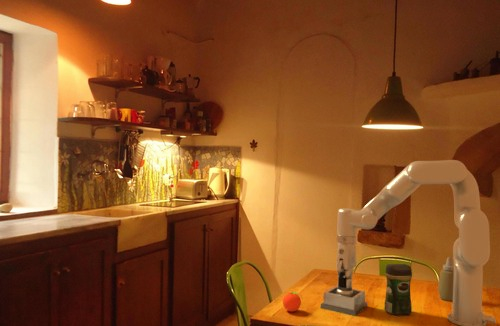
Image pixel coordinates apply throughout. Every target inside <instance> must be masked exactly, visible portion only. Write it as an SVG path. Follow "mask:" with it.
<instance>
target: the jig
mask: <svg viewBox="0 0 500 326" xmlns="http://www.w3.org/2000/svg"><path fill="white" fill-rule="evenodd" d="M337 286H338V285H334V286H332V287H331V288H329V289H328V290H325V291H324V292H323V300H322V301H323V302H322V303H320V309H322V310H323V309H324V310H328V311H333V312H336V313H340V314H345V315H351V316H355V317H356V316H357V315H359V314H360V313H361V312H362V311H364V309H366V308H367V307H368V302H367V301H365V300H366V299H365V298H366V291H365V290H361V289H355V288H352V290H353V297H348V296H343V295H338V294H336V291H337Z"/></svg>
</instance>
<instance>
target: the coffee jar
mask: <svg viewBox="0 0 500 326" xmlns="http://www.w3.org/2000/svg"><path fill="white" fill-rule="evenodd" d="M384 273H385V277H386V291H385V299H384V310H385V312H387V314H391V315H394V316H405V315H407V316H408V315H411V314H412V299H411V298H412V297H411V296H412V295H411V281H412V278H413V272H412V267H411V266H410V265H408V264H406V263H396V264H393V263H391V264H386V266H385V272H384Z"/></svg>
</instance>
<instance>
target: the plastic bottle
mask: <svg viewBox="0 0 500 326" xmlns="http://www.w3.org/2000/svg"><path fill="white" fill-rule="evenodd" d="M351 268H352V269H351V270H349V271H347V272H346V278H347V285H346V288H342V287H338V285H336V286H337V291H336V294H338V295H343V296H348V297H353V290H352V289H353V274H354V268H355V267H354V264H353V263H352V266H351ZM342 269H345V268H344V267H342ZM343 273H344V271H343Z"/></svg>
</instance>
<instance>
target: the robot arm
mask: <svg viewBox="0 0 500 326" xmlns="http://www.w3.org/2000/svg"><path fill="white" fill-rule="evenodd" d="M421 185H450V187H451V189H452V193H453V208H454V210H453V211H454V214H453V215H454V218H453V221H454V224H455V226H456V228H458V238H457V239H456V240H455V241H454V243H453V245H452V256H453V266H454V277H453V301H452V311H451V313H448V314H447V320H448V321H450V322H451V323H453V324H455V325H458V326H487V323H491V324H496V321H497V320H496V317H493V316H492V315H488V314H487V315H486V313H484V310H483V309H482V307H483V303H482V302H483V281H484V277H483V276H484V275H483V274H484V273H483V271H484V270H483V269H484V268H483V266H484V265H486V264H487V262H488V261H489V259H490V255H491V241H490V240H491V239H490V222H489V220H488V217H487V215H486V214H485V212H484V211H482V210H481V201H480V200H481V199H480V198H481V197H480V190H479V186H478V185H479V184H478V182H477V180H476V178H475V177H474V175H473V174H472V173H471V172H470V171H469V169H467V166H465V164H464V163H463V162H462V161H460V160H457V159H456V160H455V159H447V160H446V159H444V160H443V159H442V160H415V161H412V162H410V163H409V164H408V165H407V166H406V167H404V168H403V170H402V171H400V172H399V173H398V174H397V175H396V176H395V177H394V178H393V179H392V180H391V181H390V182H388V183H387V184H386V185H385V186H384V187H383V188H382V189H381V190H380V192H379V193H378V194H377V195H376V196H374V197H373V198H372V199H370V201H369V202H368V203H367V204H366V205H364V207H362V208H360V209H359V210H356V209H354V208H347V207H345V208H343V207H342V208H339V209H338V210H337V219H336V220H337V222H336V223H337V225H336V226H337V227H336V228H337V229H336V244H337V251H336V271H337V286H338V287H342V288H346V285H347V278H346V272H347V271H349V270H351V269H352V268H351V266H352V263H353V264H354V268H356V267H357V249H356V248H357V247H356V245H357V230H358V229H362V230H371V229H374V228H375V227H376V226H377V223H378V220H380V219H381V218H382V217H383V216H384V215H386V213H387V212H389V211H390V210H391V209H392V208H394V207H396V206H398V205H400V204H401V203H403V202H404V201H405V200H406V199H407V198H408V197H410V196H411V195H412V193H414V192H415V191H416V190H417V189H418V188H419V187H420V186H421ZM357 228H358V229H357ZM342 267H344V268H345V269H342ZM343 271H344V273H343Z"/></svg>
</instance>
